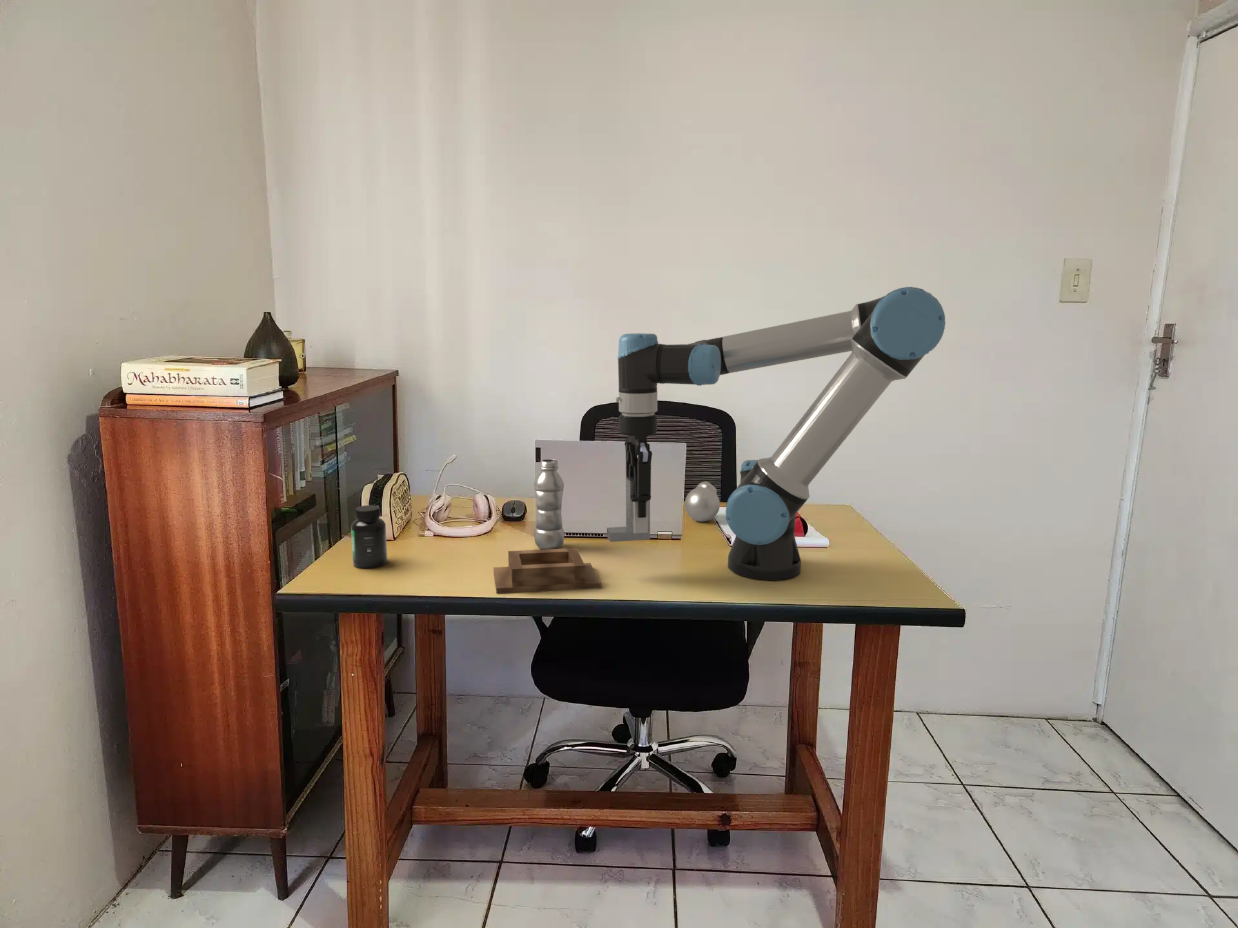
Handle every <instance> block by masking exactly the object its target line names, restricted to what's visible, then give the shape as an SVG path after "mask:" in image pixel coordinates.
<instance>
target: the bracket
mask: <svg viewBox="0 0 1238 928" xmlns="http://www.w3.org/2000/svg"><path fill="white" fill-rule="evenodd" d="M631 499H635V486H634V477H626V476H625V526H615V527H614V526H612V527H611V526H610V527H606V537H607V540H609V542H610V543H612V542H613V543H614V542H617V543H618V542H629V541H630V542H632V541H644V540H651V499H650V500H648V533H634V502H632V500H631Z"/></svg>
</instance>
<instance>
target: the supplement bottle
mask: <svg viewBox="0 0 1238 928" xmlns="http://www.w3.org/2000/svg"><path fill="white" fill-rule="evenodd" d="M380 517H381V508H380V506H378V505H373V504H369V505H368V504H367V505H361V506H358V507H356V508H355V518H356V519H355V520H354V521H353V522H352V523H351V527H350V531H351V533H350V534H351V552H352V563H353V565H354V567H356V568H358V569H364V570H365V569H366V570H367V569H376V568H380V567H382V566H384V565H386V563H387V561H388V547H387V544H388V543H387V528H386V525H387V524H386V523H385V520H383V518H380Z"/></svg>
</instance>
